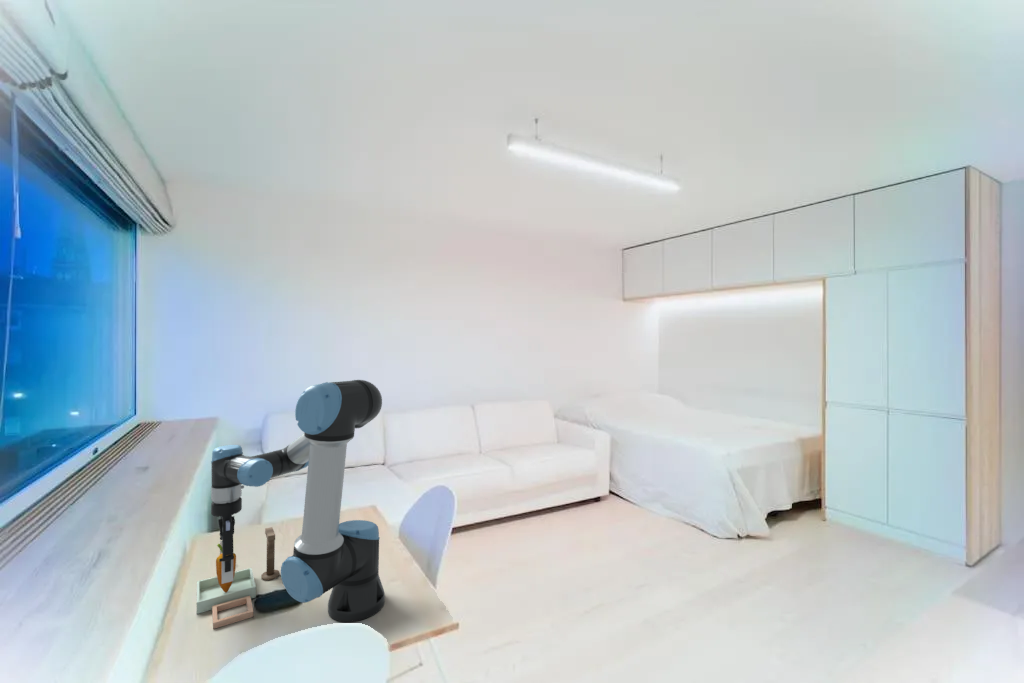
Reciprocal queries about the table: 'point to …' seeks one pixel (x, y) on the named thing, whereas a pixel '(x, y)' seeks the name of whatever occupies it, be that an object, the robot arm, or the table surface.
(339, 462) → the robot arm
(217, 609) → the holder ring
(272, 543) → the t stake
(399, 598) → the table surface
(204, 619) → the table surface
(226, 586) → the carrot
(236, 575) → the tray
